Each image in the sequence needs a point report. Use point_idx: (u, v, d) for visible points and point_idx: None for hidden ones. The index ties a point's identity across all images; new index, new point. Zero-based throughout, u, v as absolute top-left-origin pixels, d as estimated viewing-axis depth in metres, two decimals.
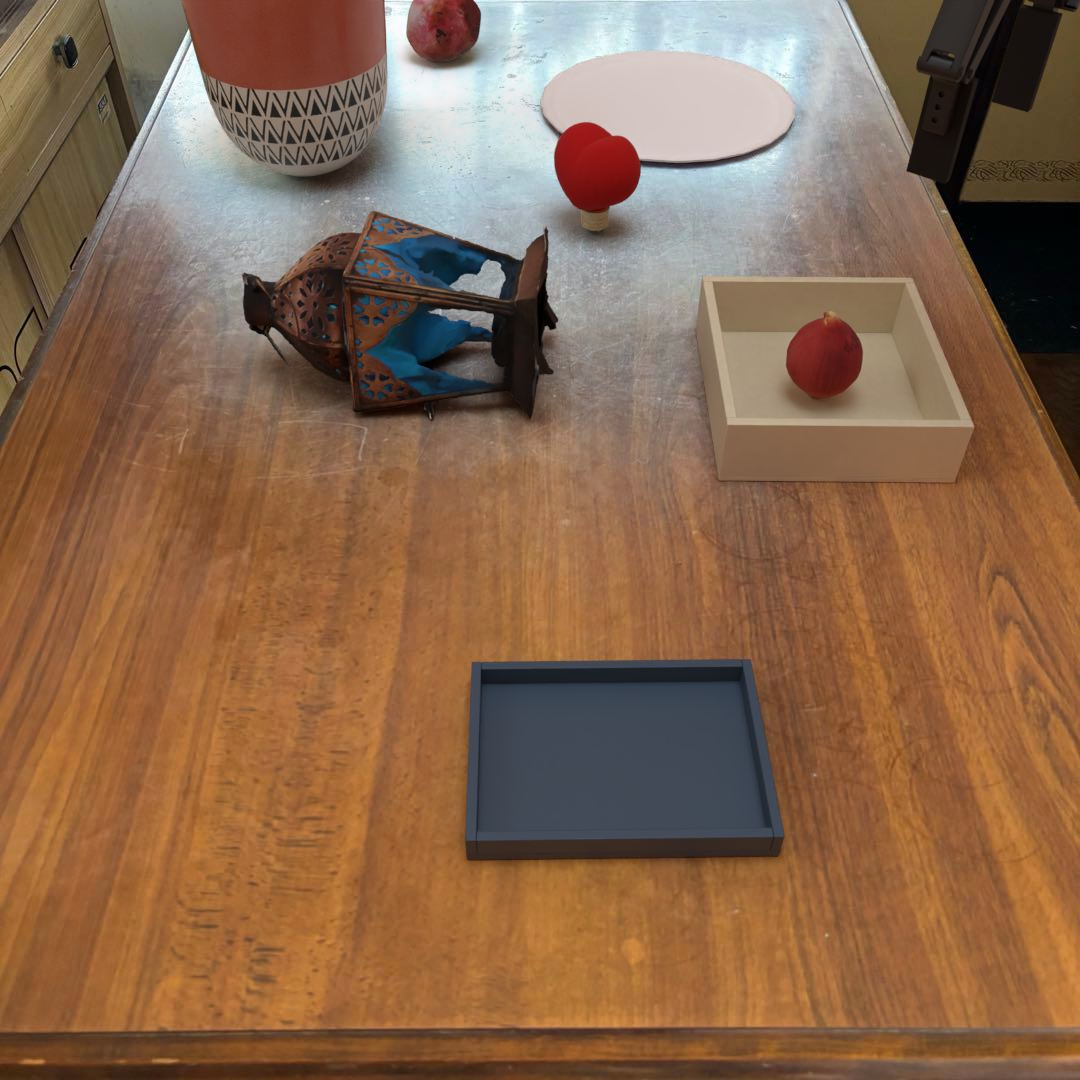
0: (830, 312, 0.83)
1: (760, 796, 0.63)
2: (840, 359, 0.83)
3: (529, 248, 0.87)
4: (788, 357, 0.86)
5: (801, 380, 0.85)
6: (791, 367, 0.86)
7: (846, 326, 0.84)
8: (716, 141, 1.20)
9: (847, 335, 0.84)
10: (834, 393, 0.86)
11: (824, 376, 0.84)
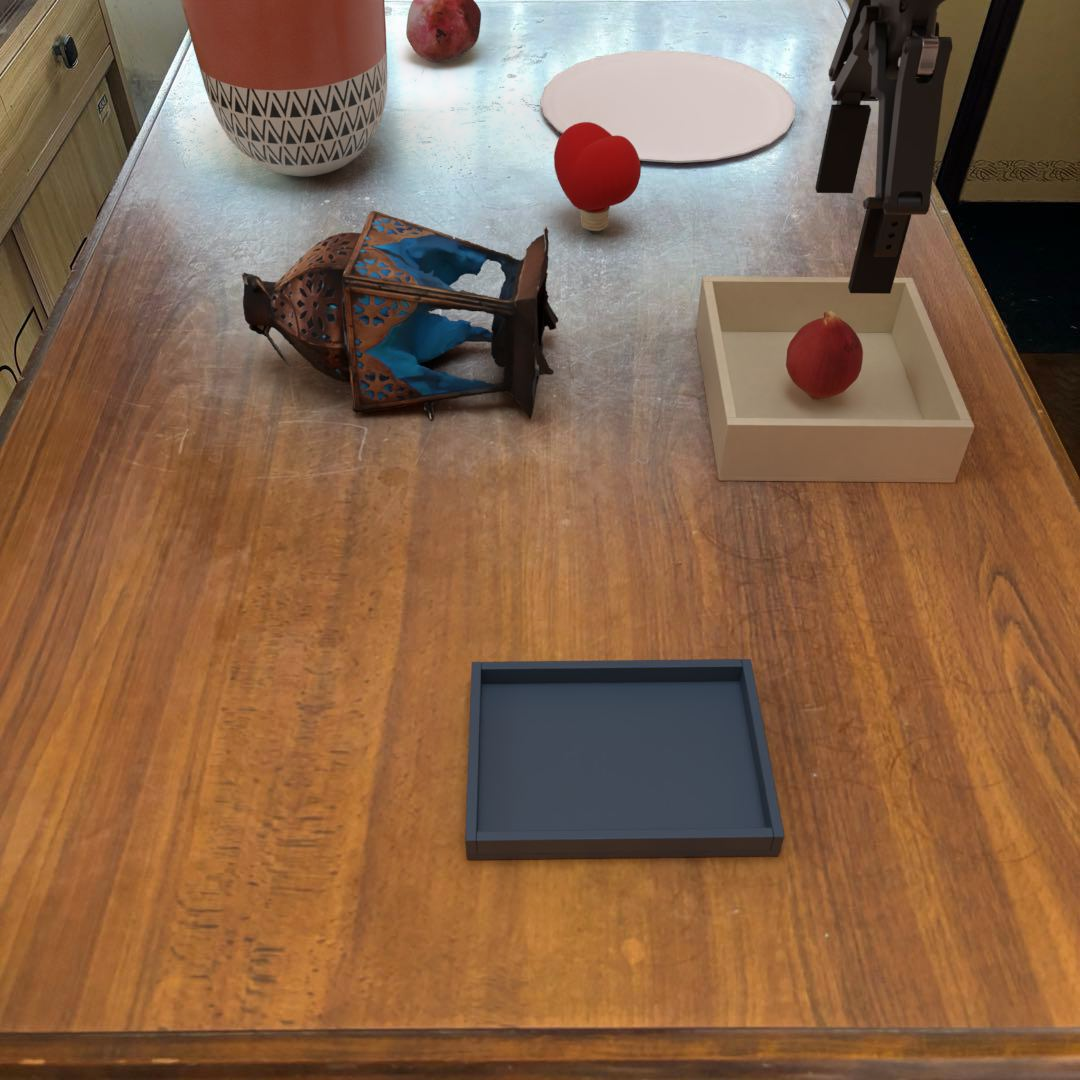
0: (830, 312, 0.83)
1: (760, 796, 0.63)
2: (840, 359, 0.83)
3: (529, 248, 0.87)
4: (788, 357, 0.86)
5: (801, 380, 0.85)
6: (791, 367, 0.86)
7: (846, 326, 0.84)
8: (716, 141, 1.20)
9: (847, 335, 0.84)
10: (834, 393, 0.86)
11: (824, 376, 0.84)
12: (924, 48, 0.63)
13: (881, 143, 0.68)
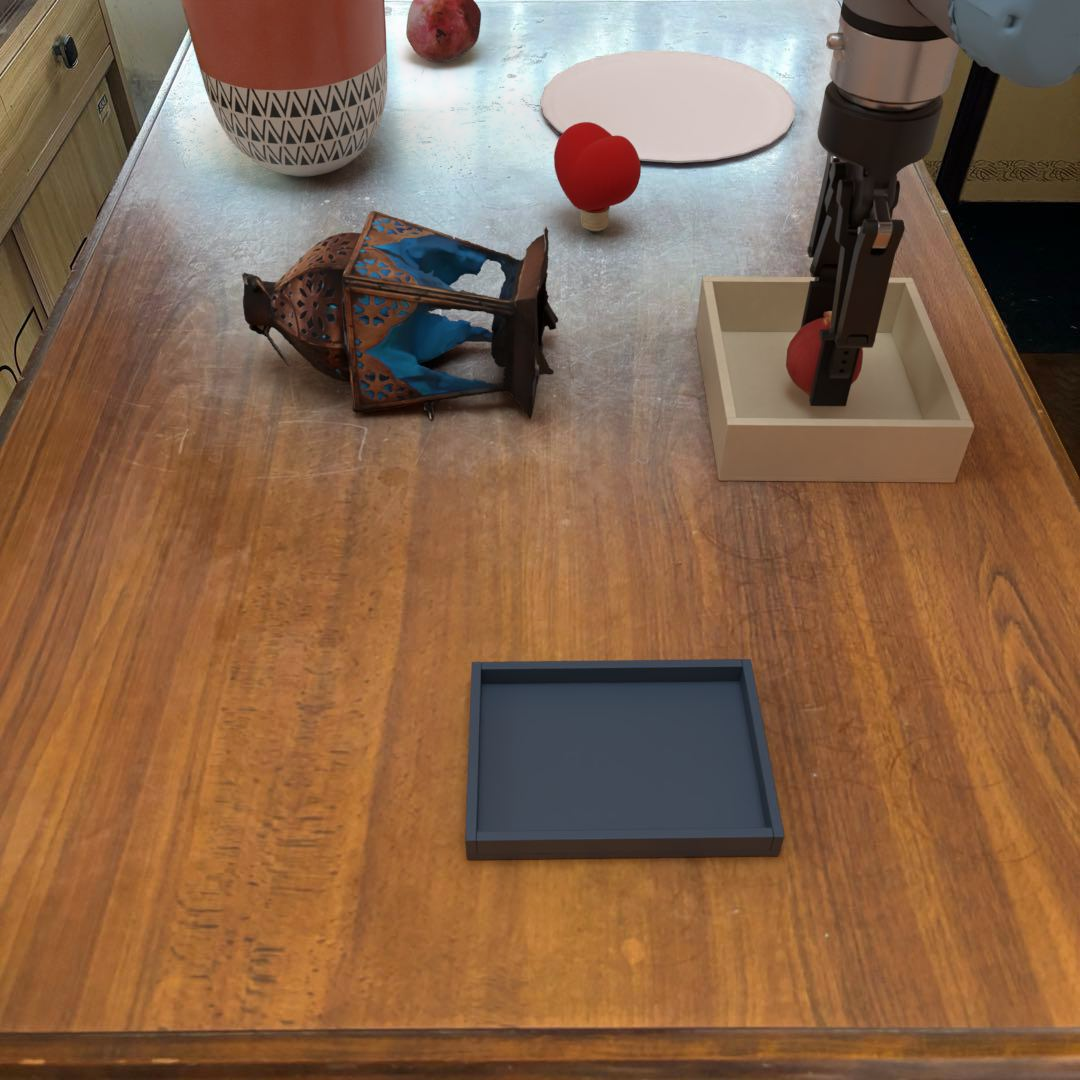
0: (830, 312, 0.83)
1: (760, 796, 0.63)
2: None
3: (529, 248, 0.87)
4: (788, 357, 0.86)
5: (801, 380, 0.85)
6: (791, 367, 0.86)
7: None
8: (716, 141, 1.20)
9: None
10: None
11: None
12: (879, 234, 0.71)
13: (838, 288, 0.78)
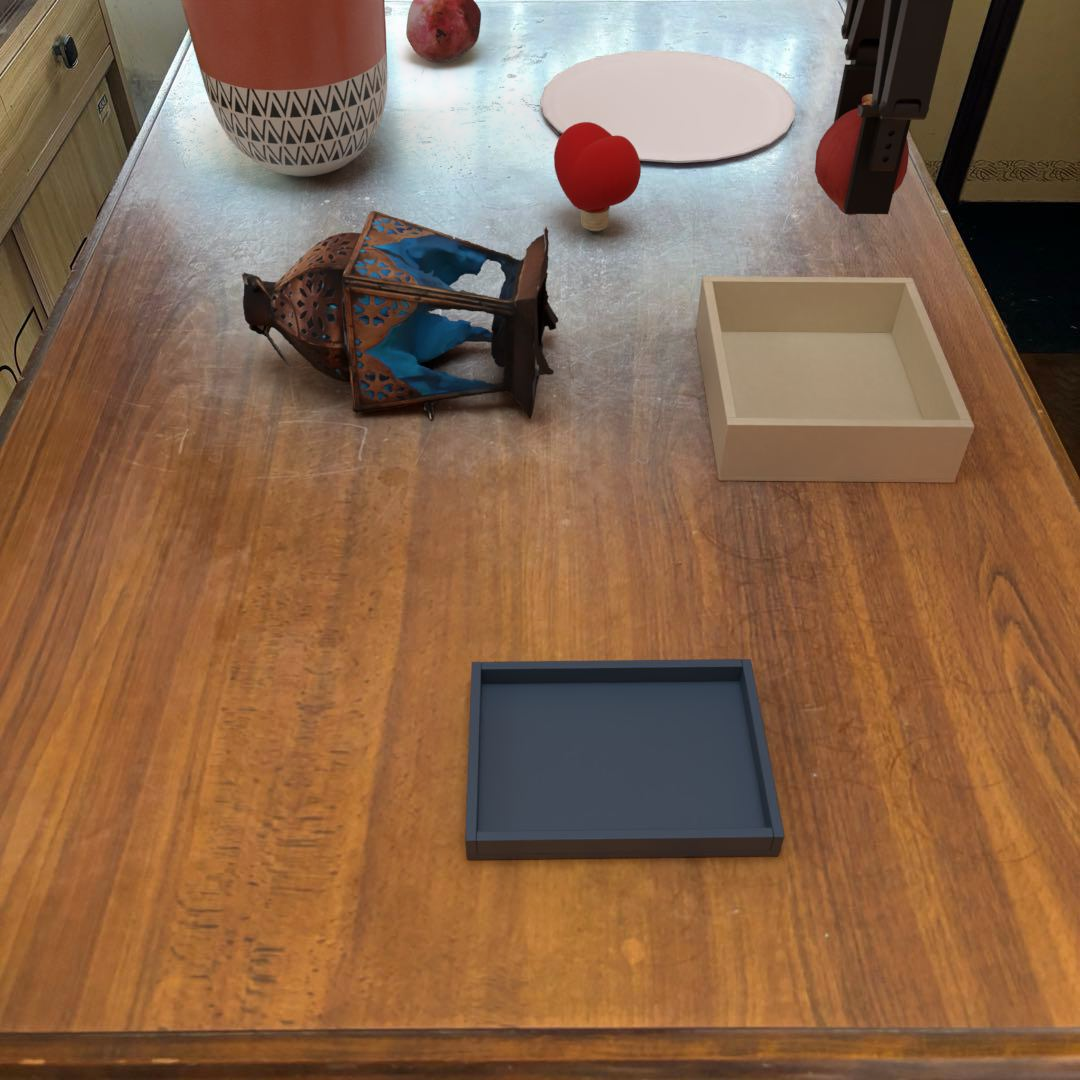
0: (870, 95, 0.68)
1: (760, 796, 0.63)
2: None
3: (529, 248, 0.87)
4: (818, 158, 0.71)
5: (834, 184, 0.70)
6: (822, 169, 0.71)
7: None
8: (716, 141, 1.20)
9: None
10: None
11: None
12: None
13: (883, 45, 0.63)
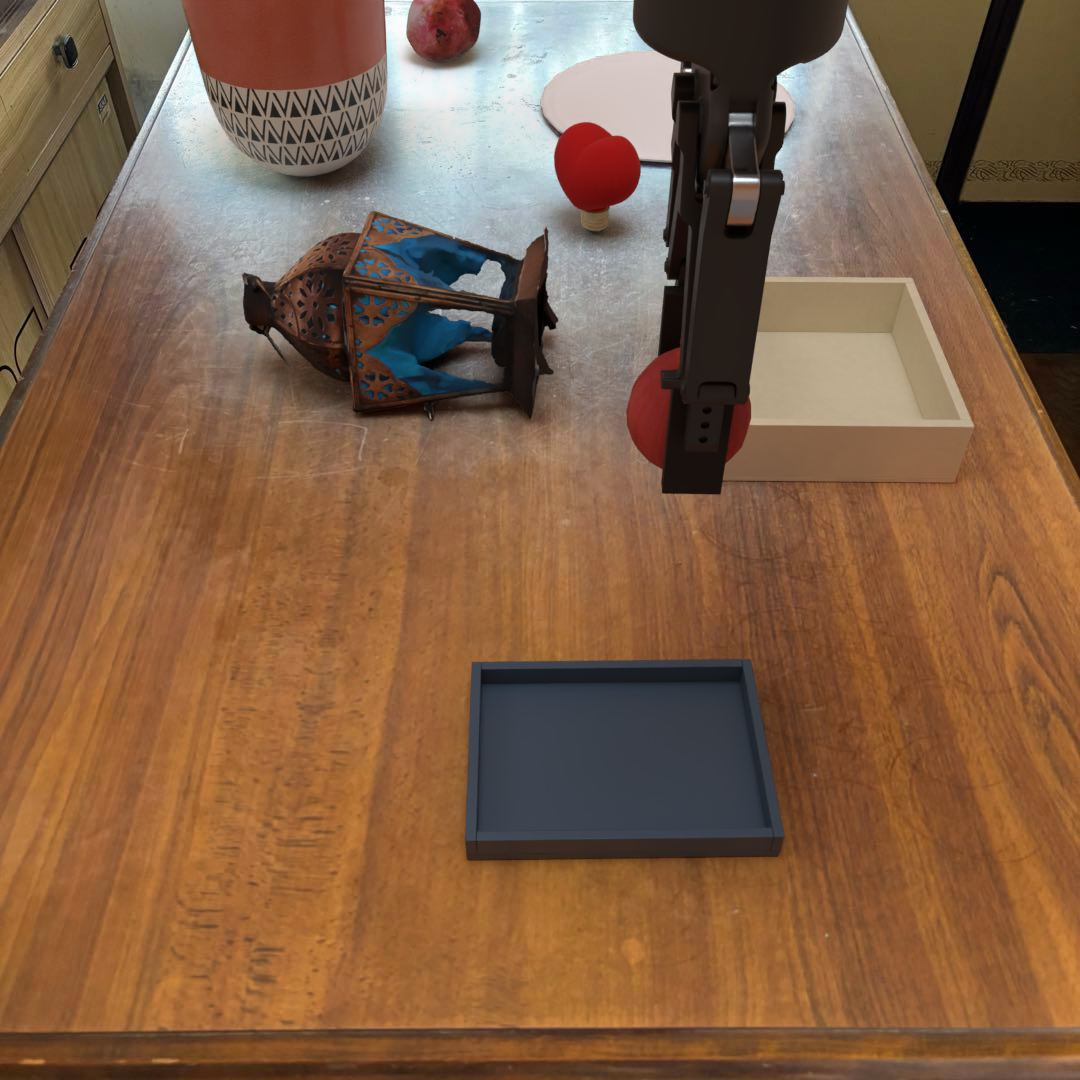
0: None
1: (760, 796, 0.63)
2: None
3: (529, 248, 0.87)
4: (628, 411, 0.52)
5: (647, 450, 0.51)
6: (632, 428, 0.52)
7: None
8: None
9: None
10: None
11: None
12: (735, 196, 0.37)
13: (686, 298, 0.44)
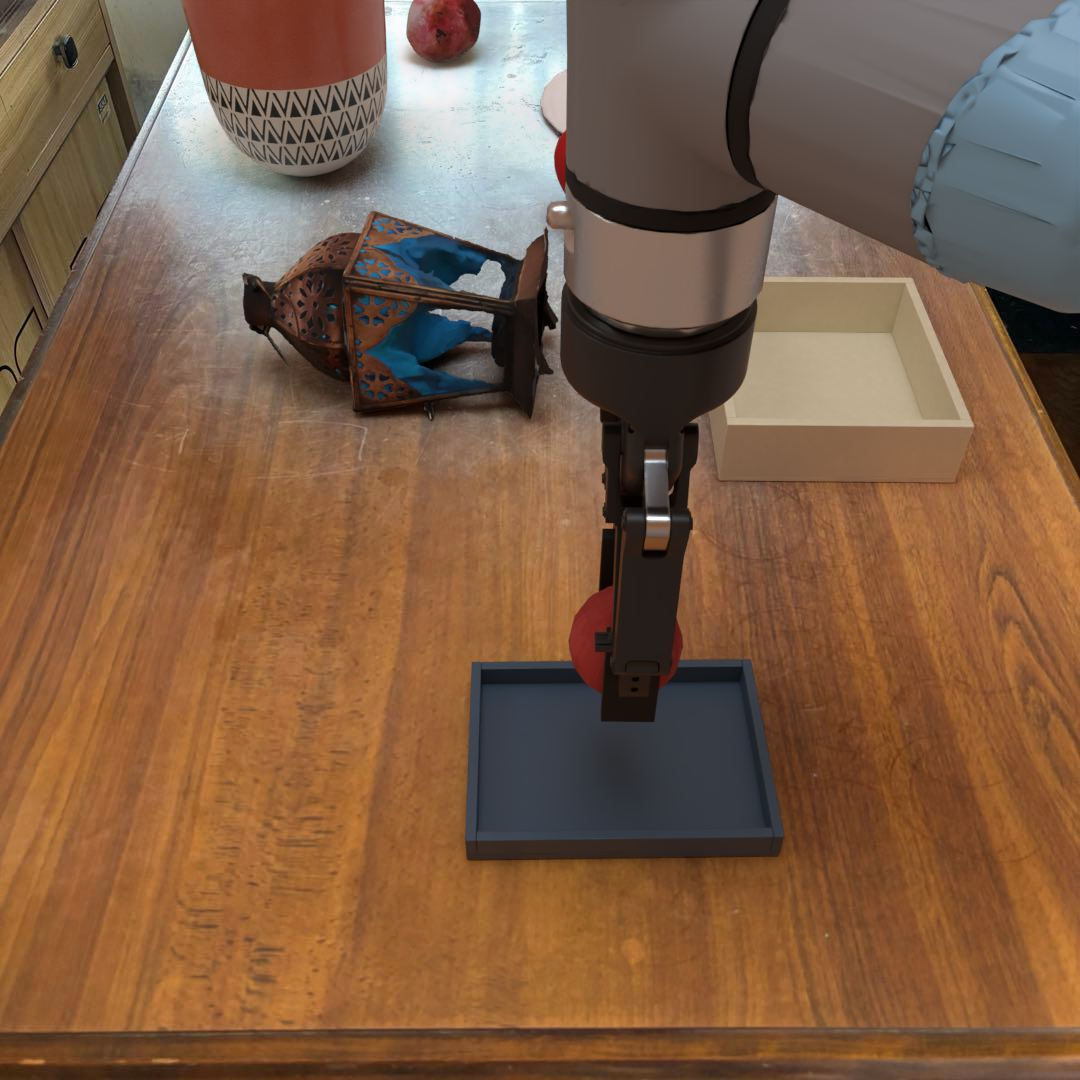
0: None
1: (760, 796, 0.63)
2: None
3: (529, 248, 0.87)
4: (570, 642, 0.57)
5: (587, 681, 0.56)
6: (573, 659, 0.56)
7: None
8: None
9: None
10: None
11: None
12: (648, 534, 0.42)
13: (614, 580, 0.48)
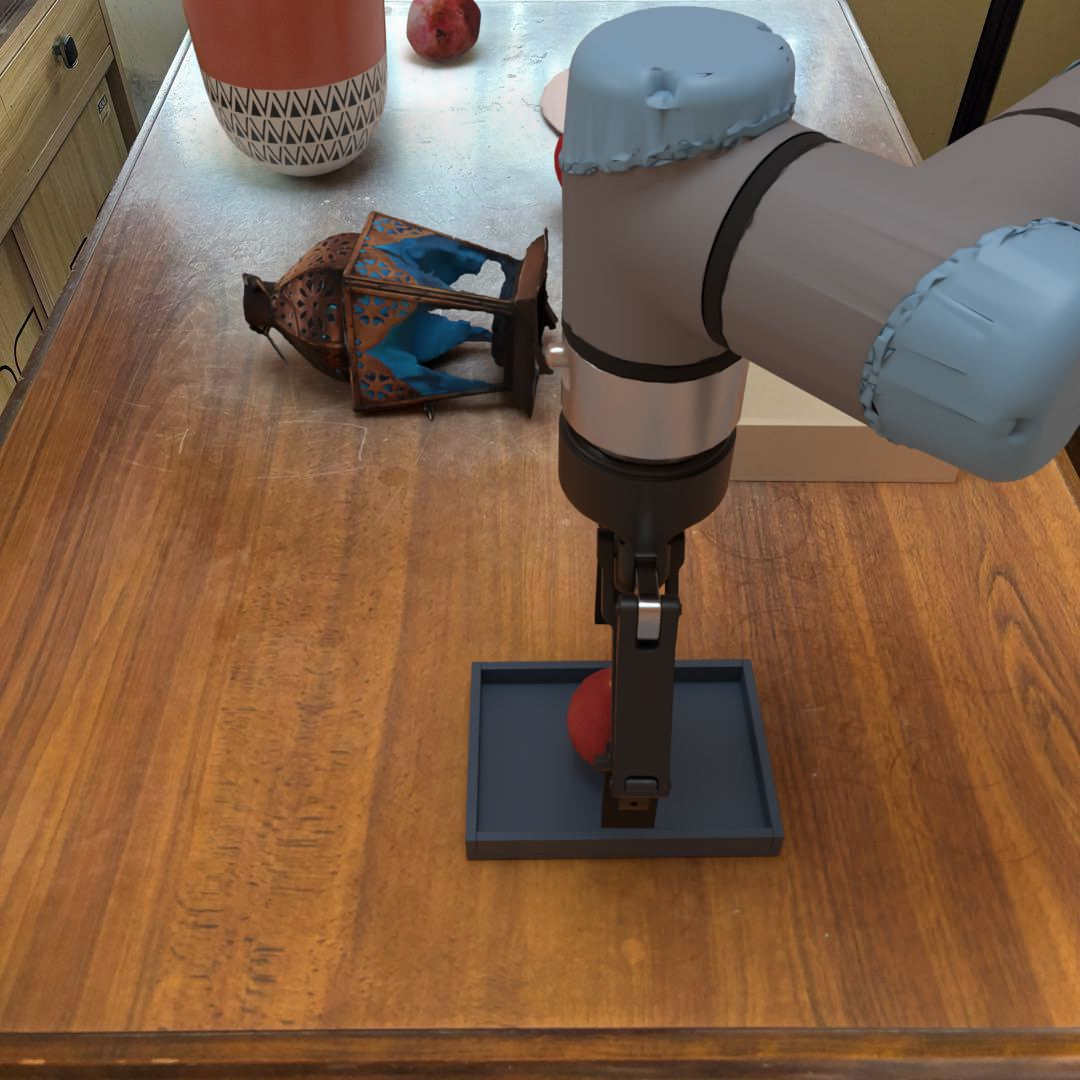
0: None
1: (760, 796, 0.63)
2: None
3: (529, 248, 0.87)
4: (567, 720, 0.62)
5: (583, 757, 0.61)
6: (570, 737, 0.61)
7: None
8: None
9: None
10: None
11: None
12: (641, 615, 0.45)
13: (612, 688, 0.50)
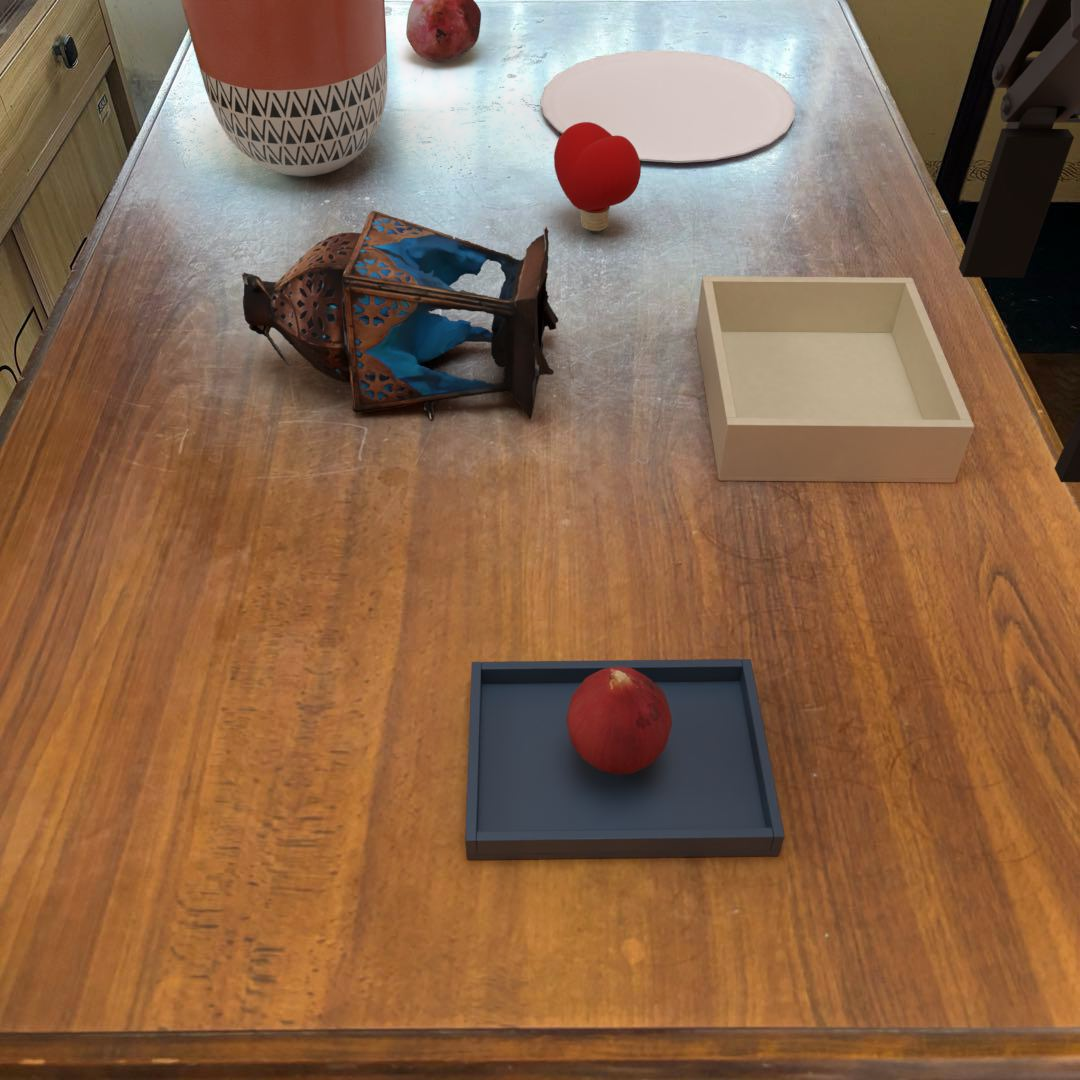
0: (617, 673, 0.59)
1: (760, 796, 0.63)
2: (631, 739, 0.59)
3: (529, 248, 0.87)
4: (568, 720, 0.62)
5: (584, 757, 0.61)
6: (571, 737, 0.61)
7: (642, 689, 0.59)
8: (716, 141, 1.20)
9: (643, 704, 0.59)
10: (631, 772, 0.61)
11: (611, 759, 0.60)
12: None
13: None
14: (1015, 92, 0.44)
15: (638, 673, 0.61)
